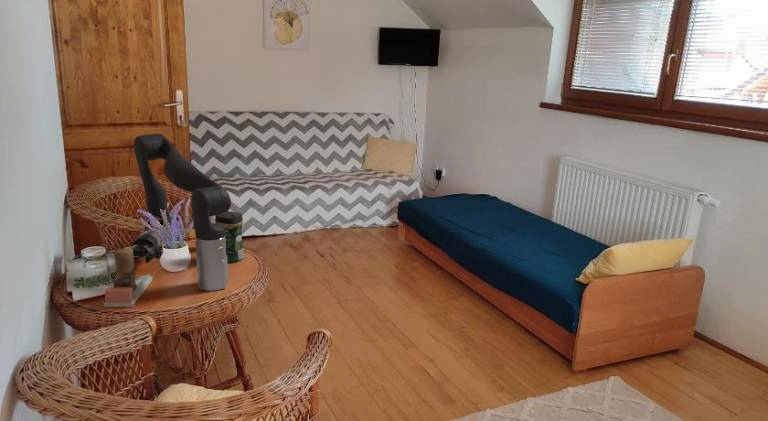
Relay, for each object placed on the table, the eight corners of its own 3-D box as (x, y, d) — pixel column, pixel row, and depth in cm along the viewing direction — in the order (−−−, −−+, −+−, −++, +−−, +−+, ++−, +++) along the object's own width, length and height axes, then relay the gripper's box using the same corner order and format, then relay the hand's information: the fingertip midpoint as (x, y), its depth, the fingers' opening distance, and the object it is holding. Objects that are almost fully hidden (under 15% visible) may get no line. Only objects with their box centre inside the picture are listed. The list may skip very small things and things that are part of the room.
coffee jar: (212, 260, 204) (210, 211, 199) (226, 253, 211) (224, 207, 206) (234, 264, 201) (232, 215, 196) (247, 258, 208) (246, 210, 203)
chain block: (137, 287, 174) (133, 248, 171) (129, 297, 167) (126, 256, 164) (122, 287, 174) (119, 248, 170) (114, 297, 167) (110, 256, 163)
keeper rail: (152, 279, 184) (151, 265, 183) (132, 306, 164) (131, 291, 163) (127, 279, 183) (126, 265, 182) (104, 306, 163) (102, 291, 162)
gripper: (124, 233, 190) (108, 249, 174) (167, 233, 192) (155, 249, 176) (126, 253, 192) (110, 271, 176) (169, 253, 194) (156, 271, 178)
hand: (132, 260), depth 176 cm, fingers open, 8 cm apart
